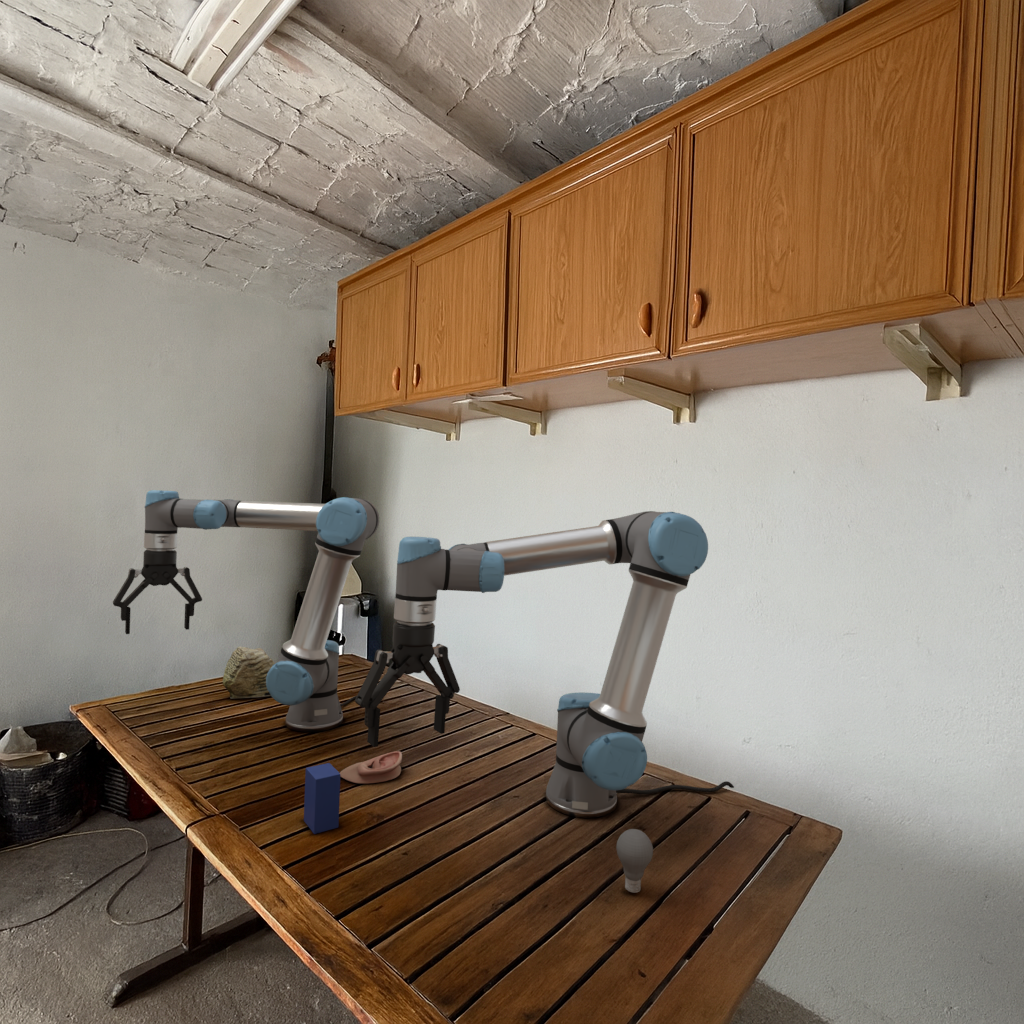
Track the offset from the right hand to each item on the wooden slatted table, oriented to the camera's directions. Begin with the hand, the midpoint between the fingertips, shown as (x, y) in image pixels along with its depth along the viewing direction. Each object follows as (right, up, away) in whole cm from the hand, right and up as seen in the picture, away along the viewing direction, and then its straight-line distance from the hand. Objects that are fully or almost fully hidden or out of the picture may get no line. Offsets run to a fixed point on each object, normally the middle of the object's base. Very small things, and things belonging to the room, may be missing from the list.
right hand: (406, 737), depth 116 cm
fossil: (-61, -16, +82) cm, 104 cm away
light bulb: (+39, -22, -10) cm, 46 cm away
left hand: (-73, +10, +49) cm, 89 cm away
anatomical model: (-13, -19, +30) cm, 38 cm away
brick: (-18, -19, +7) cm, 27 cm away
